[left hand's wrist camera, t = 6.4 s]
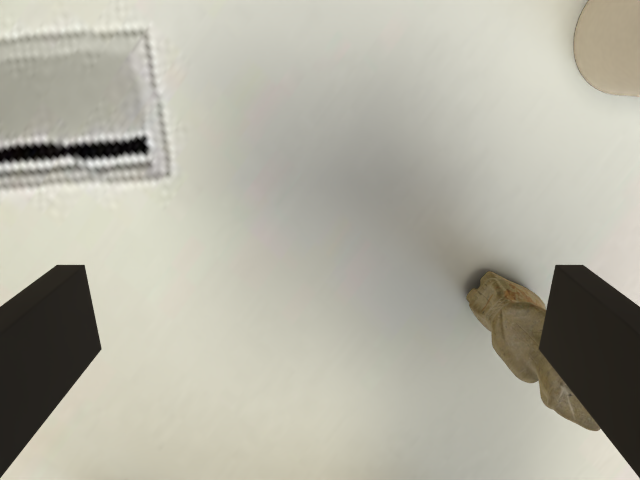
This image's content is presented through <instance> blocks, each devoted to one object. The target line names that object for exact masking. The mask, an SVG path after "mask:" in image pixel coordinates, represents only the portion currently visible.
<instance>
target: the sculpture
mask: <svg viewBox="0 0 640 480" xmlns="http://www.w3.org/2000/svg"><path fill="white" fill-rule="evenodd" d="M466 298H467V300H468V301H469V306H470V308H471V310H472V311H473V313H474V315H475V316H476V317H477V319H478V320H479V321H480V322H481V323H482V324H483V325H484V326H485V327H486V328H487V329H488V330H489V331H491V332H492V345H493V348H494V349H495V351H496V352H497V354H498V355H499V356H500V357H501V359H502V360H503V361H504V362H505V364H506V365H507V366H508V368H509V369H510V370H511V371H512V372H513V374H514V375H515V376H516V377H518V378H519V379H520V380H522V381H524V382H527V383H534V382H537V381H538V380H539V385H540V394H541V399H542V401H543V403H544V404H545V405H546V406H547V407H548V408H550V409H553V410H555V411H556V412H557V413H558V414H559V415H561V416H562V417H564V418H566V419H568V420H570V421H572V422H574V423H576V424H578V425H580V426H582V427H584V428H586V429H588V430H592V431H598V430H600V429H601V428H600V427H599V426H598V424H597V423H596V422H595V420H594V419H593V418H592V417H591V415H590V414H589V413H588V412H587V410H586V409H585V408H584V406H583V405H582V404H581V403H580V401H579V400H578V399H577V397H576V396H575V395H574V394H573V392H572V391H571V390H570V389H569V387H568V386H567V385H566V383H565V382H564V381H563V380H562V378H561V377H560V376H559V375H558V373H557V372H556V371H555V369H554V368H553V367H552V366H551V364H550V363H549V362H548V361H547V359H546V358H545V357H544V355H543V354H542V353H541V352H540V350H539V344H540V339H541V334H542V329H543V324H544V319H545V315H546V309H545V305H544V303H543V301H542V300H541V299H540V298H539V297H538V296H537V295H536V294H535V293H533V292H532V291H530V290H529V289H527V288H525V287H523V286H521V285H518V284H516V283H514V282H511V281H509V280H507V279H505V278H503V277H501V276H499V275H497V274H496V273H494V272H491V271H488V272H487V273H486V274H485V275H484V276H483V277H482V278H481V279H480V286H479V288H478V289H476V288H473V289H471V291H470V292H469V293H468V295H467V297H466Z"/></svg>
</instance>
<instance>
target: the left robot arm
mask: <svg viewBox="0 0 640 480" xmlns="http://www.w3.org/2000/svg"><path fill="white" fill-rule="evenodd" d="M100 350H101V344H100V339H99V334H98V329H97V324H96V319H95V315H94V310H93V305H92V300H91V295H90V290H89V285H88V280H87V275H86V270H85V265H56V266H55V267H54V268H52V269H51V270H50V271H48V272H47V273H45V274H44V275H43V276H41V277H40V278H39V279H37V280H36V281H35V282H33V283H32V284H31V285H29V286H28V287H27V288H25V289H24V290H22V291H21V292H20V293H18V294H17V295H16V296H14V297H13V298H12V299H10V300H9V301H8V302H6V303H5V304H4V305H2V306H1V307H0V478H1V476H2V475H3V474H4V473H5V471H6V470H7V469H8V468H9V466H10V465H11V464H12V462H13V461H14V460H15V459H16V457H17V456H18V455H19V454H20V452H21V451H22V450H23V448H24V447H25V446H26V445H27V443H28V442H29V441H30V440H31V438H32V437H33V436H34V434H35V433H36V432H37V431H38V429H39V428H40V427H41V426H42V424H43V423H44V422H45V420H46V419H47V418H48V417H49V415H50V414H51V413H52V412H53V410H54V409H55V408H56V406H57V405H58V404H59V403H60V401H61V400H62V399H63V397H64V396H65V395H66V394H67V392H68V391H69V390H70V389H71V387H72V386H73V385H74V383H75V382H76V381H77V380H78V378H79V377H80V376H81V375H82V373H83V372H84V371H85V369H86V368H87V367H88V366H89V364H90V363H91V362H92V361H93V359H94V358H95V357H96V355H97V354H98V353H99V352H100ZM539 350H540V352H541V353H542V354H543V355H544V357H545V358H546V359H547V361H548V362H549V363H550V364H551V366H552V367H553V368H554V369H555V371H556V372H557V373H558V375H559V376H560V377H561V378H562V380H563V381H564V382H565V383H566V385H567V386H568V387H569V389H570V390H571V391H572V392H573V394H574V395H575V396H576V397H577V399H578V400H579V401H580V403H581V404H582V405H583V406H584V408H585V409H586V410H587V412H588V413H589V414H590V415H591V417H592V418H593V419H594V420H595V422H596V423H597V424H598V426H599V427H600V428H601V429H602V431H603V432H604V433H605V434H606V436H607V437H608V438H609V440H610V441H611V442H612V443H613V445H614V446H615V447H616V448H617V450H618V451H619V452H620V454H621V455H622V456H623V457H624V459H625V460H626V461H627V462H628V464H629V465H630V466H631V468H632V469H633V470H634V471H635V473H636V474H637V475H638V476H639V478H640V307H639V306H638V305H636V304H635V303H634V302H632V301H631V300H630V299H628V298H627V297H626V296H624V295H623V294H622V293H620V292H619V291H618V290H616V289H615V288H613V287H612V286H611V285H609V284H608V283H607V282H605V281H604V280H603V279H601V278H600V277H599V276H597V275H596V274H595V273H593V272H592V271H590V270H589V269H588V268H586V267H585V266H584V265H555V270H554V275H553V280H552V285H551V290H550V295H549V300H548V305H547V310H546V315H545V319H544V324H543V329H542V334H541V339H540V344H539Z"/></svg>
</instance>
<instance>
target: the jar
mask: <svg viewBox="0 0 640 480" xmlns="http://www.w3.org/2000/svg"><path fill="white" fill-rule="evenodd" d="M574 54H575V60H576V63H577V66H578V68H579V70H580V72H581V74H582V76H583V77H584V78H585V80H586V81H587V82H588V83H589V84H590V85H592V86H593V87H594V88H596V89H598V90H600V91H602V92H605V93H608V94H613V95H623V96H636V97H640V0H589V1H588V2H587V4H586V5H585V7H584V9H583V11H582V13H581V15H580V17H579V20H578V23H577V26H576V31H575V36H574Z"/></svg>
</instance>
